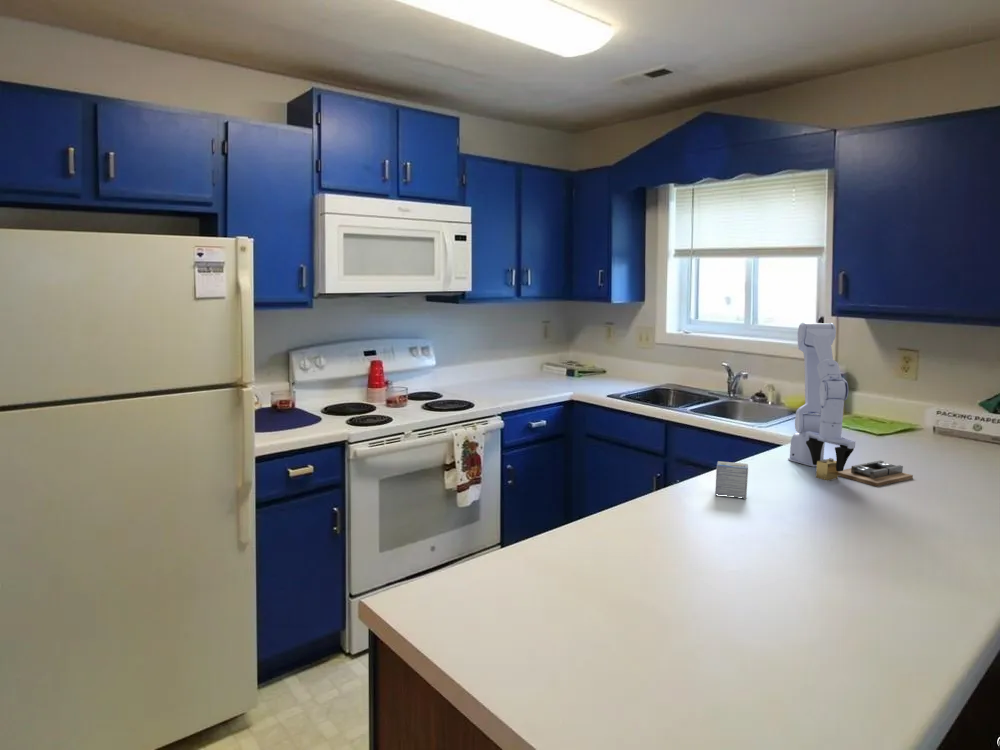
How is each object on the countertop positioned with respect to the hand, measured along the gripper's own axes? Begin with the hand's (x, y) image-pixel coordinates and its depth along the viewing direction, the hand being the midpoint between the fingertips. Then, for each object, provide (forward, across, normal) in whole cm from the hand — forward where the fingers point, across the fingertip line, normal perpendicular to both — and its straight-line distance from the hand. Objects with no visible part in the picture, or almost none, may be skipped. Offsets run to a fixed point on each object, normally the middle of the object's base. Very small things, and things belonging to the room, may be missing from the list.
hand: (827, 467), depth 199 cm
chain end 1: (+2, +5, +11) cm, 13 cm away
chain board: (+3, +5, +14) cm, 15 cm away
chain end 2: (+2, +5, +19) cm, 20 cm away
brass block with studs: (+3, 0, 0) cm, 3 cm away
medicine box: (+3, -1, -38) cm, 38 cm away
